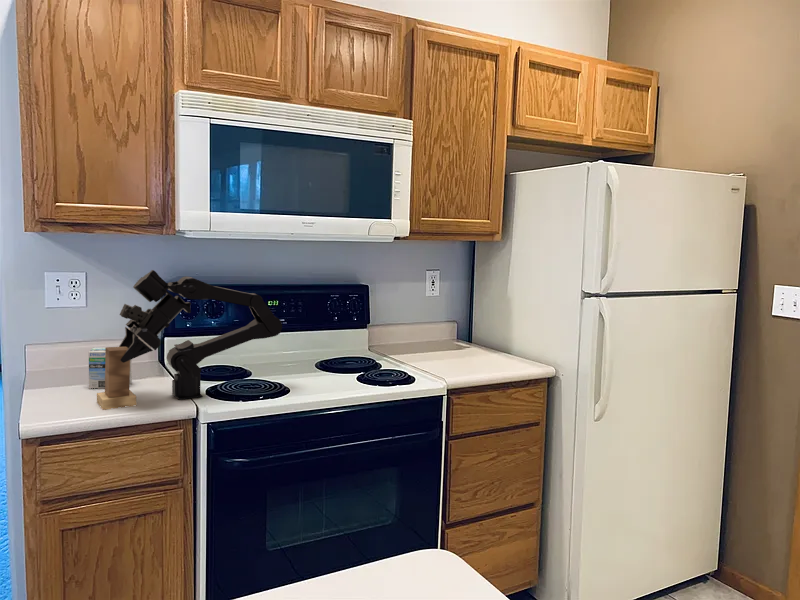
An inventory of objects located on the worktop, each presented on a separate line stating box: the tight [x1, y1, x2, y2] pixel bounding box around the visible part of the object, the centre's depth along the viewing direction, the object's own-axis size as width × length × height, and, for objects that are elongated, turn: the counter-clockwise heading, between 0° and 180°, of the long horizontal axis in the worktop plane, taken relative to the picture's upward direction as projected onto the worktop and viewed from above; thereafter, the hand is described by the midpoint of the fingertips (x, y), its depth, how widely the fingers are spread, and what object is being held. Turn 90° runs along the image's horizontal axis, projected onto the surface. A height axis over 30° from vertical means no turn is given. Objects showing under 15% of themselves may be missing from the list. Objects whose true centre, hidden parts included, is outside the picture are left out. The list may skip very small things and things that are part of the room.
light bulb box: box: [88, 347, 133, 390], centre depth 185 cm, size 11×7×11 cm, turn 105°
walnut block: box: [104, 346, 131, 397], centre depth 166 cm, size 5×5×12 cm
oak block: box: [96, 389, 137, 411], centre depth 167 cm, size 8×8×3 cm
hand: (118, 358), depth 166 cm, fingers open, 9 cm apart
